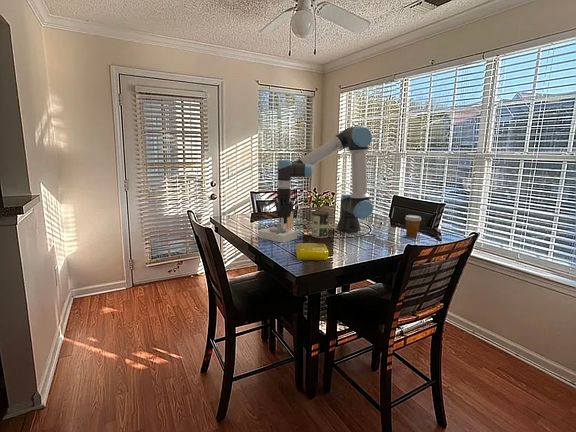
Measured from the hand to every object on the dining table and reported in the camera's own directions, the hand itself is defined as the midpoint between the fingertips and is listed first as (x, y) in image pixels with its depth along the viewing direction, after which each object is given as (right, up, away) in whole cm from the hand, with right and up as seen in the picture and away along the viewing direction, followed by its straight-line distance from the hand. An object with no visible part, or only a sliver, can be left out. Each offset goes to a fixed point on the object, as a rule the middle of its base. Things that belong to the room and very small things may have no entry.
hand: (283, 228), depth 196 cm
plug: (+2, -3, +17) cm, 17 cm away
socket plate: (-3, -5, +4) cm, 7 cm away
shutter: (-3, -1, +3) cm, 5 cm away
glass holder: (+5, +1, +38) cm, 39 cm away
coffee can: (+22, -5, +10) cm, 24 cm away
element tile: (+14, -13, -27) cm, 33 cm away
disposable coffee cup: (+79, -5, +14) cm, 80 cm away
